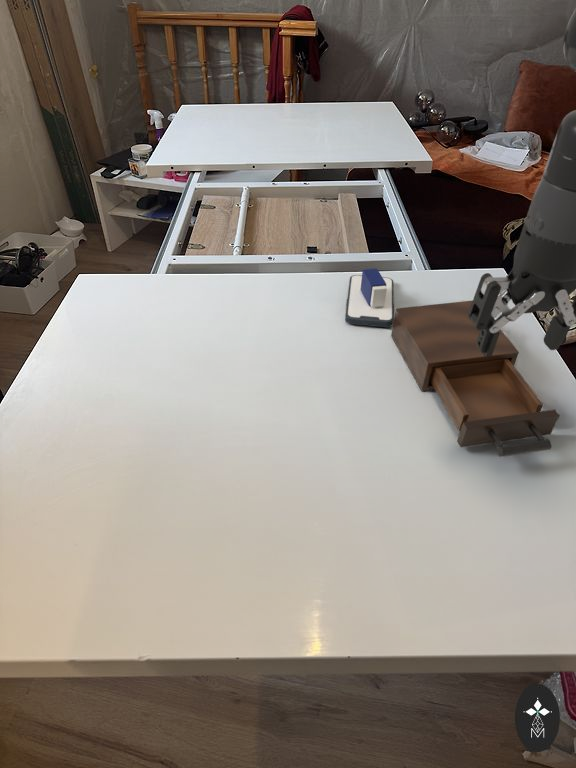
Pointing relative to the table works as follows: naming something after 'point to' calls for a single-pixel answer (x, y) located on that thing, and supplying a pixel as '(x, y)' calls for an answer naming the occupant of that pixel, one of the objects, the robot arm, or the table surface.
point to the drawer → (493, 406)
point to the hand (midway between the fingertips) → (517, 349)
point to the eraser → (373, 287)
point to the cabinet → (441, 339)
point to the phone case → (362, 311)
